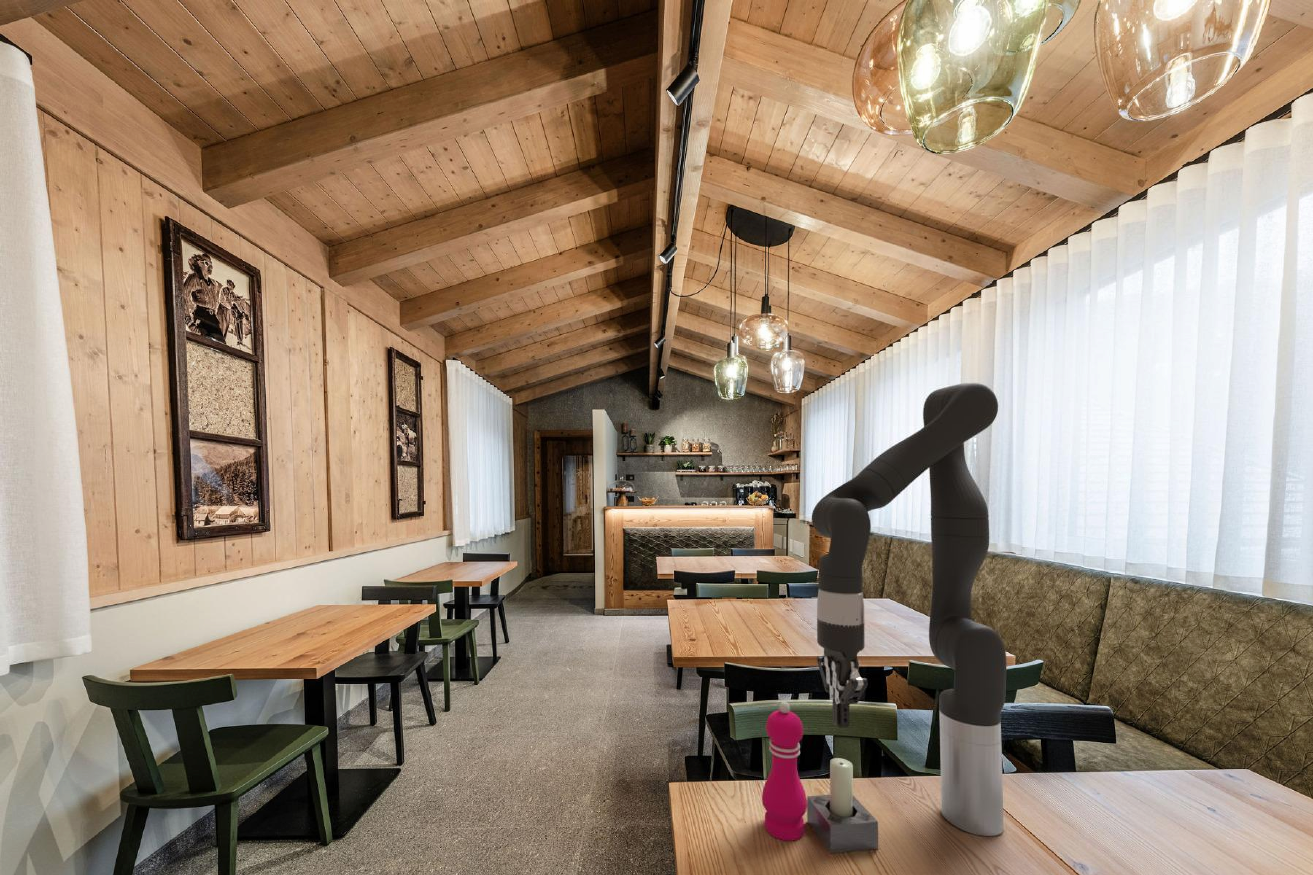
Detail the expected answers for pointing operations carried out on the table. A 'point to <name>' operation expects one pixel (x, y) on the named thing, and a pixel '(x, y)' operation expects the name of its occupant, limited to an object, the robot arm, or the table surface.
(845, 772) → the candle
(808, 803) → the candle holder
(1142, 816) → the table surface
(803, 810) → the pepper mill
